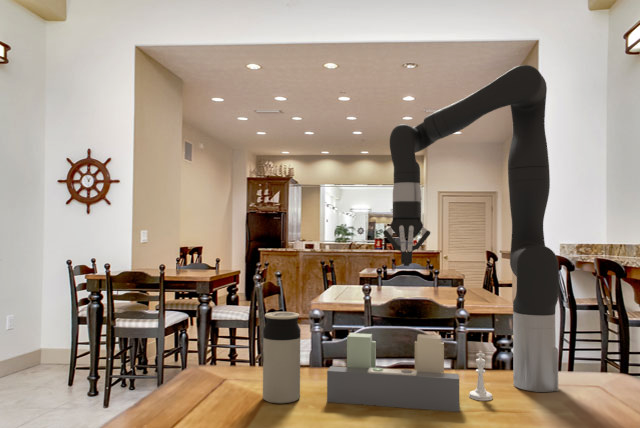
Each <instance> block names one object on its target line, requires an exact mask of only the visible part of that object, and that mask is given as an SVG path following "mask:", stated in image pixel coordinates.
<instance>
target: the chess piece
mask: <svg viewBox="0 0 640 428" xmlns="http://www.w3.org/2000/svg"><path fill="white" fill-rule="evenodd" d="M478 351H479V353H476V357H478V358H476V359H475V362H476V363H475V364H476V365H477V368H476V369H475V373H477V374H478V375H477V382H476V388H475V389H474V390H471V391H469V393H468V397H469V398H470V399H471V400H476V401H482V402H483V401H484V402H486V401H492V399H493V394H492V393H491V392H489V391H487V389H486V388H485V381H484V380H485V379H484V374H485V373H486V369H484V366H485V364H486V360H485V359H483V358H482V357H486V355H485V353H482V350H478Z"/></svg>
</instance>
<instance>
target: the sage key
mask: <svg viewBox="0 0 640 428" xmlns="http://www.w3.org/2000/svg"><path fill="white" fill-rule="evenodd" d="M346 338H347V340H346V367H353V368H377V364H376V361H377V359H376V358H377V356H376V355H377V353H376V352H377V351H376V349H377V345H376V344H377V341H375V340H373V333H358V332H357V333H355V332H349V333H348V335H347V337H346Z"/></svg>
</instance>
